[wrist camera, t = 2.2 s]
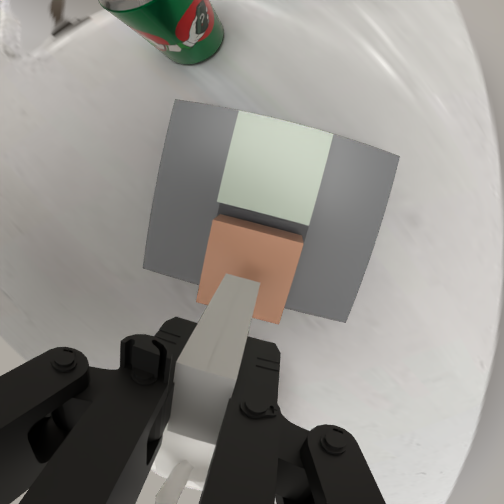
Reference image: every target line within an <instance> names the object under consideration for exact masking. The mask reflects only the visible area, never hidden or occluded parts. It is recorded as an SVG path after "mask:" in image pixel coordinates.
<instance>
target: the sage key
mask: <svg viewBox="0 0 504 504" xmlns="http://www.w3.org/2000/svg"><path fill="white" fill-rule="evenodd" d="M332 138H333V134H332V133H328V132H325V131H322V130H318V129H315V128H311V127H307V126H304V125H300V124H296V123H292V122H288V121H284V120H280V119H276V118H272V117H268V116H263V115H259V114H254V113H250V112H245V111H240V110H239V112H238V116H237V120H236V124H235V128H234V132H233V136H232V140H231V144H230V148H229V152H228V156H227V160H226V164H225V169H224V173H223V177H222V181H221V186H220V190H219V194H218V199H217V202H220V203H224V204H228V205H232V206H236V207H240V208H244V209H248V210H252V211H256V212H259V213H263V214H267V215H271V216H275V217H278V218H282V219H286V220H290V221H293V222H297V223H301V224H304V225H308V226H309V224H310V220H311V217H312V213H313V210H314V206H315V202H316V199H317V195H318V191H319V188H320V184H321V180H322V177H323V173H324V169H325V165H326V162H327V158H328V154H329V150H330V146H331V142H332Z"/></svg>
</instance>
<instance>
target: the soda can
mask: <svg viewBox="0 0 504 504" xmlns="http://www.w3.org/2000/svg"><path fill="white" fill-rule="evenodd" d="M98 1H99V3H100V5H101V6H102V7H103V8H104V9H106V10H107V11H108V12H110V13H111V14H113V15H114V16H115V17H117V18H118V19H119V20H121V21H122V22H123V23H125V24H126V25H127V26H129V27H130V28H131V29H133V30H134V31H135V32H137V33H138V34H139V35H141V36H142V37H143V38H144V39H146V40H147V41H148V42H149V43H151V44H152V45H153V46H154V47H156V48H157V49H158V50H159V51H161V52H162V53H163V54H164V55H166V56H167V57H168V58H169V59H171V60H172V61H174V62H176V63H180V64H194V63H198V62H201V61H203V60H205V59H207V58H209V57H210V56H211V55H212V54H214V53H215V52H216V51H217V49H218V48H219V46H220V44H221V43H222V40H223V34H224V32H223V26H222V24H221V22H220V20H219V18H218V16H217V14H216V12H215V10H214V8H213V6H212V4H211V3H210V1H209V0H98Z"/></svg>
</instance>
